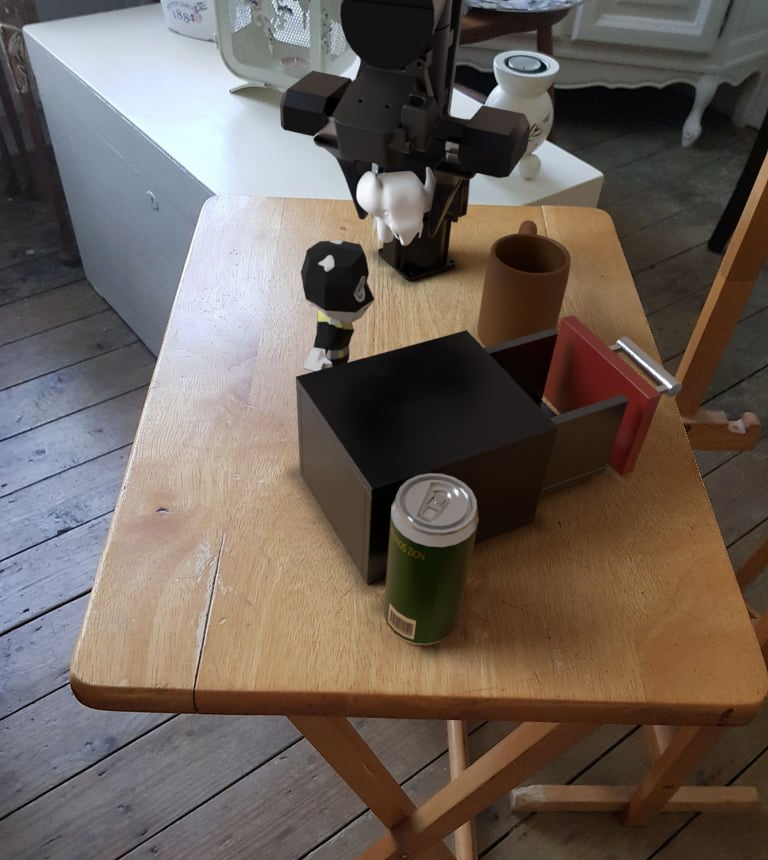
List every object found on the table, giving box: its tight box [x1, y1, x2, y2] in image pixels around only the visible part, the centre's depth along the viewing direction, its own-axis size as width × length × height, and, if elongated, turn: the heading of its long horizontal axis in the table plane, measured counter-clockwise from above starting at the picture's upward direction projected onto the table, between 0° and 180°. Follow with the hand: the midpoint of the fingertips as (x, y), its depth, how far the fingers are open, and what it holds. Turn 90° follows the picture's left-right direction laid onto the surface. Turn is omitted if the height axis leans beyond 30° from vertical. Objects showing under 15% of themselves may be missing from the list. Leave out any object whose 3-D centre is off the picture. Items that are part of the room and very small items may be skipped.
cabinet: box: [295, 329, 558, 586], centre depth 62 cm, size 15×13×10 cm
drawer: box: [483, 314, 683, 497], centre depth 66 cm, size 18×11×8 cm, turn 117°
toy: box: [300, 239, 375, 372], centre depth 68 cm, size 13×6×15 cm, turn 168°
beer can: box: [383, 473, 479, 647], centre depth 53 cm, size 5×5×12 cm
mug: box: [477, 219, 572, 348], centre depth 79 cm, size 12×8×9 cm, turn 173°
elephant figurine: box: [357, 167, 436, 245], centre depth 68 cm, size 7×8×6 cm
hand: (397, 225), depth 69 cm, fingers closed on elephant figurine, 6 cm apart
